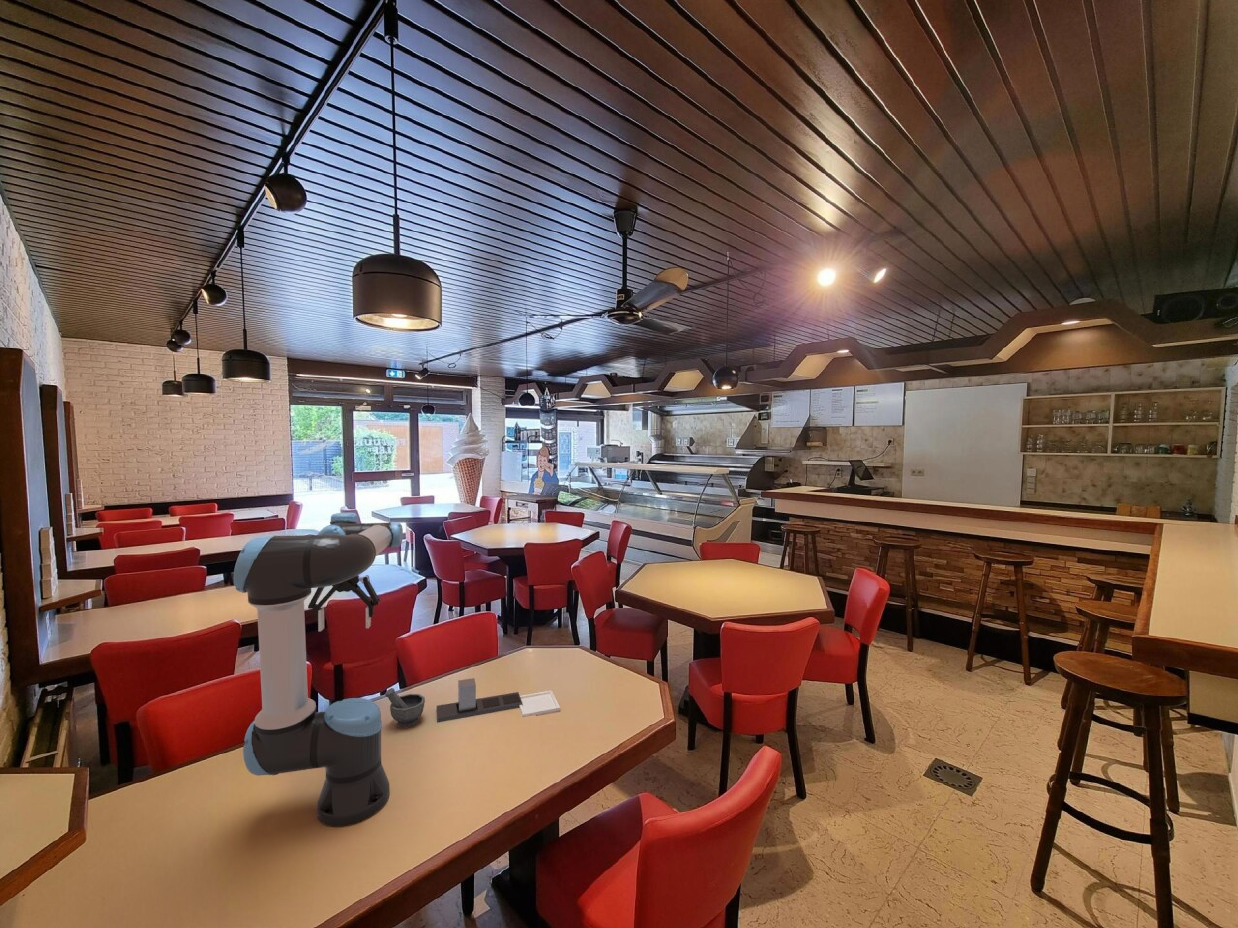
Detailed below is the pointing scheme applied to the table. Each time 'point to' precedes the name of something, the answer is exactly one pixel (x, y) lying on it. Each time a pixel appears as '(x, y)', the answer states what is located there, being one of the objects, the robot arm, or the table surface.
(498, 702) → the rack rail
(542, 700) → the parts tray
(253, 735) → the robot arm
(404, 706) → the mortar and pestle
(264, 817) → the table surface
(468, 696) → the gray rectangular block
